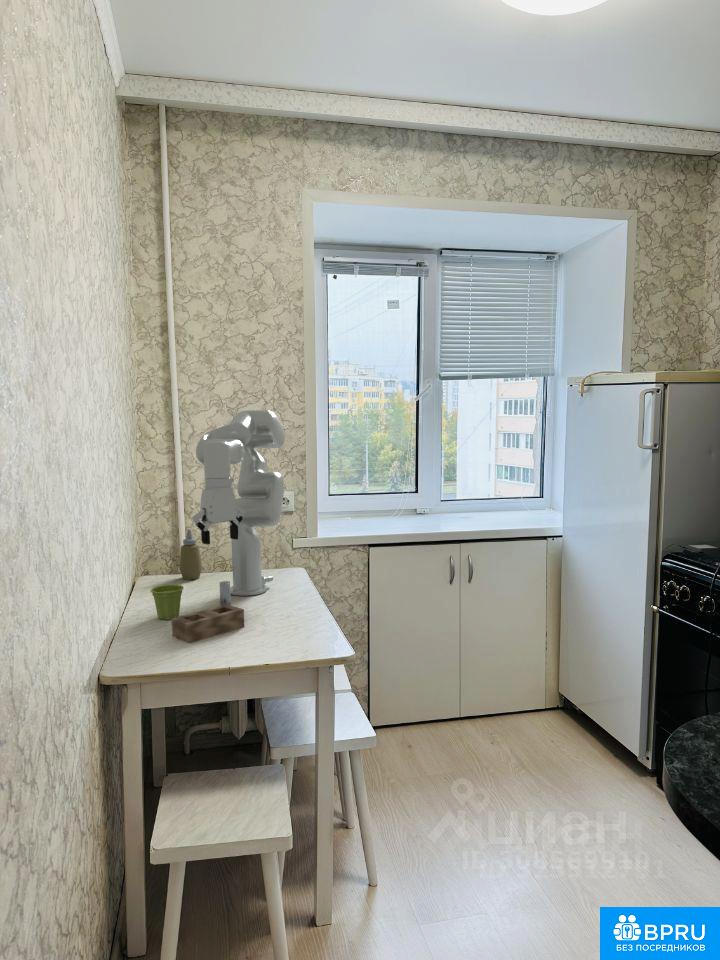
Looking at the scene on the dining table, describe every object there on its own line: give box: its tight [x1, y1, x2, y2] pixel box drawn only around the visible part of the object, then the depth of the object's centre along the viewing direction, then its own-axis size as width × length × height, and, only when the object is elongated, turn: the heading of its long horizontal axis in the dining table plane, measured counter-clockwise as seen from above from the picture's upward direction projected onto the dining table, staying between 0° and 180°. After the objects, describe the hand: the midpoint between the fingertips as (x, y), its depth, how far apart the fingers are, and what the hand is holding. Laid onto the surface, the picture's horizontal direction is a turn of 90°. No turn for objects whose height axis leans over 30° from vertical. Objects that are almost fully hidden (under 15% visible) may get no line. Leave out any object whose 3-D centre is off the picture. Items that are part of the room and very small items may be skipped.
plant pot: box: [150, 584, 184, 621], centre depth 203 cm, size 9×9×9 cm
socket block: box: [171, 604, 245, 644], centre depth 189 cm, size 18×8×5 cm, turn 137°
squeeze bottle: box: [179, 529, 203, 581], centre depth 250 cm, size 8×8×18 cm
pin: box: [219, 580, 232, 606], centre depth 204 cm, size 3×3×10 cm
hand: (220, 541), depth 202 cm, fingers open, 9 cm apart
